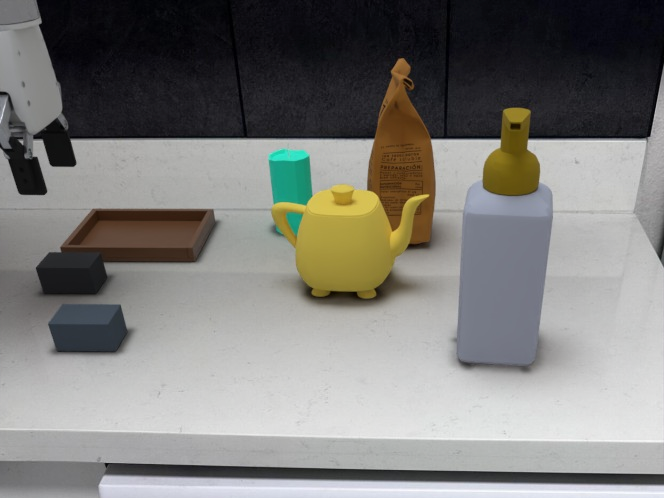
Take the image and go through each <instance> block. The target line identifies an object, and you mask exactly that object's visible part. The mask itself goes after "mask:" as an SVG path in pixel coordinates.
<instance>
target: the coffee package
mask: <svg viewBox="0 0 664 498" xmlns="http://www.w3.org/2000/svg"><path fill="white" fill-rule="evenodd" d="M410 73H411V65H410V64H409V63H408V62H407V61H406V59H405V58H398V59H397V60H396V63H395V65H394V66H393V67H392V69H391V70H390V74H391V76H392V77H391V79H390V82H389V84H388V87H387V90H386V93H385V96H384V97H383V101H382V104H381V106H380V110H379V113H378V119H377V128H376V131H375V136H374V139H373V143H372V148H371V152H370V155H369V160H368V168H367V177H366V178H367V179H366V190H367V191H372V192H374V193H375V194H376V195H377V196H378V198H379V200H380V202H381V204H382V206H383V208H384V211H385V213H386V215H387V218H388V220H389V223H390V226H391V229H392V232H393V231H395V230H396V229H398V227H399V226H400V223H401V218H402V211H403V207H404V205H405V203H406V202H407V201H408V200H409V199H410V198H412V197H415V196H419V195H429V197H428V198H426V199H425V200H423V201H422V202H421V203H420V204H419V205H418V207H417V208H416V211H415V213H414V218H413V226H412V234H411V239H410V242H409V244H408V245H418V244H422V243H429V242H430V240H431V238H432V237H431V236H432V230H433V229H432V228H433V227H432V226H433V220H434V213H435V204H436V203H435V202H436V194H437V193H436V192H437V189H436V187H437V186H436V185H437V184H436V183H437V182H436V170H435V159H434V150H433V143H432V138H431V135H430V133H429V131H428V129H427V127H426V125H425V124H424V122H423V119H422V118H421V116H420V115H419V113H418V111H417V109H416V108H415V107H414V105H413V103H412V101H411V99H410V98H409V96H408V92H407V91H409V92H410V91H413V90H414V88H415V84H414V82H413V80H412V79H411V78H409V77H408V76H409V74H410Z"/></svg>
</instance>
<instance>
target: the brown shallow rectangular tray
mask: <svg viewBox="0 0 664 498" xmlns="http://www.w3.org/2000/svg"><path fill="white" fill-rule="evenodd" d="M215 224H216V217H215V210H214V209H213V208H92V209H91V210H90V211H89V212H88V214H87V215H86V216H85V217H84V218H83V219H82V220H81V222H79V224H78V225H77V226H76V227H75V229H74V230H73V231H72V233H70V235H68V237H67V238H66V240H64V242H63V243H62V244H61V245H60V246H59V249H60V252H101V255H102V259H103V262H182V263H183V262H185V263H186V262H193V263H194V262H196V260H197V258H198V257H199V255H200V253H201V251H202V249H203V247H204V245H205V243H206V241H207V240H208V237H209V236H210V233H211V232H212V230H213V227H214V226H215Z"/></svg>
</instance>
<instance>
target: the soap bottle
mask: <svg viewBox="0 0 664 498" xmlns="http://www.w3.org/2000/svg"><path fill="white" fill-rule="evenodd" d="M531 115H532V113H531V110H530V109H528V108H522V107H508V108H504V109H503V111H502V119H501V132H500V147H498V148H496V149H495V150H493V151H492V152H490V154H489V155H487V158H486V160H485V161H484V164H483V168H482V179H481V180H478V181H475V182H474V183H472V184H471V185H470V186H469V187H468V188H467V193H466V196H465V200H464V201H465V202H464V206H463V210H462V220H461V221H462V222H461V223H462V224H461V243H460V245H461V246H460V266H459V285H458V286H459V287H458V306H457V307H458V309H457V329H456V330H457V331H456V348H455V349H456V350H455V354H456V356H457V358H458V359H459V361H461V362H464V363H471V364H485V365H501V366H517V367H526V366H531V365H532V363H533V362H534V361H535V360H536V357H537V349H538V343H539V341H538V340H539V333H540V324H541V316H542V309H543V302H544V301H543V300H544V294H545V293H544V292H545V285H546V276H547V268H548V260H549V254H550V253H549V252H550V245H551V235H552V229H553V228H552V227H553V219H554V204H553V203H554V202H553V201H554V199H553V198H554V197H553V195H554V194H553V191H552V190H551V188H550V187H549V186H548V185H546V184H545V183H543V182H541V181H540V177H541V165H540V161H539V159H538V157H537V156H536V154H535V153H533V152H532V151H530V150H529V149H528V145H529V133H530V125H531V123H530V122H531Z"/></svg>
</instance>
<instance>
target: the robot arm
mask: <svg viewBox="0 0 664 498" xmlns="http://www.w3.org/2000/svg"><path fill="white" fill-rule="evenodd" d="M42 23H43V22H42V18H41V13H40V9H39V6H38V2H37V0H0V150H1V151H2V153H3V157H4V159H6V160H7V163H8V166H9V168H10V171H11V174H12V177H13V180H14V184H15V187H16V189H17V193H18V194H19V195H21V196H45V195H47V194H48V188H47V185H46V184H47V183H46V180H45V178H44V175H43V170H42V168H41V167H42V166H41V163H40V161H39V157H38V156H34V135H37V134H38V133H40V135H41V136H40V137H41V139H42V143H43V146H44V150H45V154H46V157H47V160H48V164H49V165H50V166H51V168H52V167H53V168H74V167H76V166H77V159H76V155H75V151H74V148H73V144H72V140H71V136H70V133H69V130H68V129H69V124H68V120H67V119H66V116H65V110H66V108H65V104H64V102H63V98H62V97H63V96H62V87H61V83H60V82H59V81H58V80H57V77H56V73H55V69H54V68H53V64H52V60H51V57H50V54H49V50H48V48H47V45H46V41H45V39H44V35H43V33H42V30H41V27H40V25H41V24H42ZM18 138H22V142H21V141H20V140H19V139H18Z"/></svg>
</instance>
